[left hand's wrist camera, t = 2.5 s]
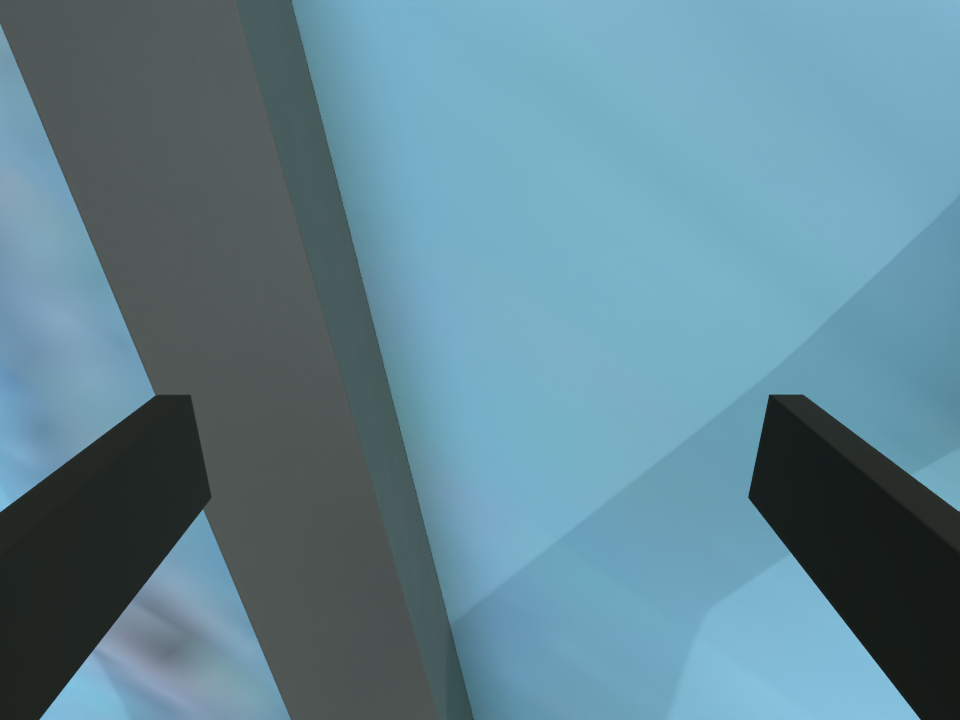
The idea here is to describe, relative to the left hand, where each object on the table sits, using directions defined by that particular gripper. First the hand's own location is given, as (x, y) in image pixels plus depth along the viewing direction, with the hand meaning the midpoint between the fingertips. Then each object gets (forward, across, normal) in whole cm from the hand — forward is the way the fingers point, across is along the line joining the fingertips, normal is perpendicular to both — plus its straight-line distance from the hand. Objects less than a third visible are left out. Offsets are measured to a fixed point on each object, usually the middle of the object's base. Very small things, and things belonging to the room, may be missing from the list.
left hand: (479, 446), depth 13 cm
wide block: (+19, -10, -7) cm, 22 cm away
